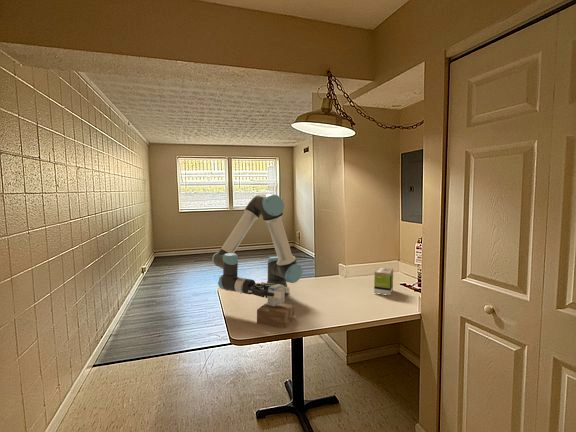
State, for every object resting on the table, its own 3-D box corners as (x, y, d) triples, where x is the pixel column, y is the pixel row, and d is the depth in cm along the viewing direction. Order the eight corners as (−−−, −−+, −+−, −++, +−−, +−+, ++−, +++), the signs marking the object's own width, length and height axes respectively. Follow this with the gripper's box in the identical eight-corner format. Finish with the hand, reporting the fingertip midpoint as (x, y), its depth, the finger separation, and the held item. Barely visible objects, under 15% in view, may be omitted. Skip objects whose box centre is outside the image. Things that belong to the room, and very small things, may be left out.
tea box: (377, 288, 212) (378, 266, 211) (393, 290, 208) (394, 268, 207) (373, 294, 199) (374, 271, 198) (389, 296, 194) (390, 273, 193)
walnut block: (268, 313, 162) (268, 300, 161) (294, 318, 157) (294, 304, 157) (256, 324, 149) (257, 309, 148) (283, 328, 144) (284, 314, 143)
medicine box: (278, 300, 157) (278, 283, 156) (284, 302, 154) (285, 285, 154) (267, 304, 151) (267, 286, 150) (274, 306, 148) (274, 288, 147)
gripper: (256, 288, 170) (294, 294, 160) (233, 299, 150) (274, 307, 141) (256, 274, 169) (294, 280, 159) (233, 283, 150) (274, 291, 140)
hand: (285, 292), depth 150 cm, fingers closed on medicine box, 8 cm apart
